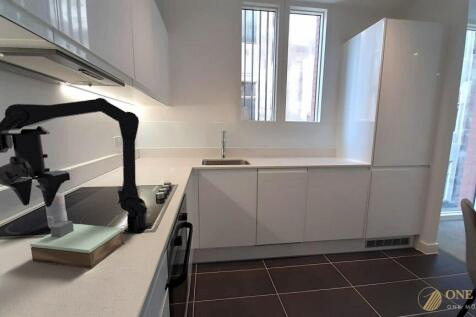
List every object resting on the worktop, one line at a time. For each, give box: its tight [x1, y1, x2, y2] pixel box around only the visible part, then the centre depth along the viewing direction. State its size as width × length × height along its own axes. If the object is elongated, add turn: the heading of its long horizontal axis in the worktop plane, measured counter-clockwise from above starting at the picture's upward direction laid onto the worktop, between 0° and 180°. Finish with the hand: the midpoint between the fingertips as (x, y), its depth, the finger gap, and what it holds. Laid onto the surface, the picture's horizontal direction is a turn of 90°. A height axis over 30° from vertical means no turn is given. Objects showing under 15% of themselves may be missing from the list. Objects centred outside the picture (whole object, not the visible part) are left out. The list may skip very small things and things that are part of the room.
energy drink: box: [44, 191, 68, 229], centre depth 79 cm, size 5×5×12 cm
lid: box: [29, 220, 123, 253], centre depth 62 cm, size 12×18×4 cm, turn 80°
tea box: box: [30, 231, 125, 270], centre depth 63 cm, size 12×18×4 cm, turn 79°
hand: (37, 205), depth 63 cm, fingers open, 7 cm apart
